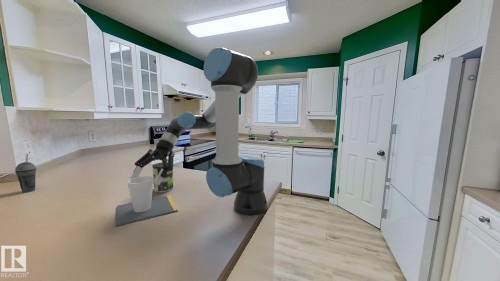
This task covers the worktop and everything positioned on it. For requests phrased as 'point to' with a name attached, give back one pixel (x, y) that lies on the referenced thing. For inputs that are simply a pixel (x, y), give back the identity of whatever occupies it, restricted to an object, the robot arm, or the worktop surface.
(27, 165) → the beverage cup
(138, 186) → the foam cup
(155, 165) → the coffee can
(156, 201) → the mat
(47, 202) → the worktop surface
